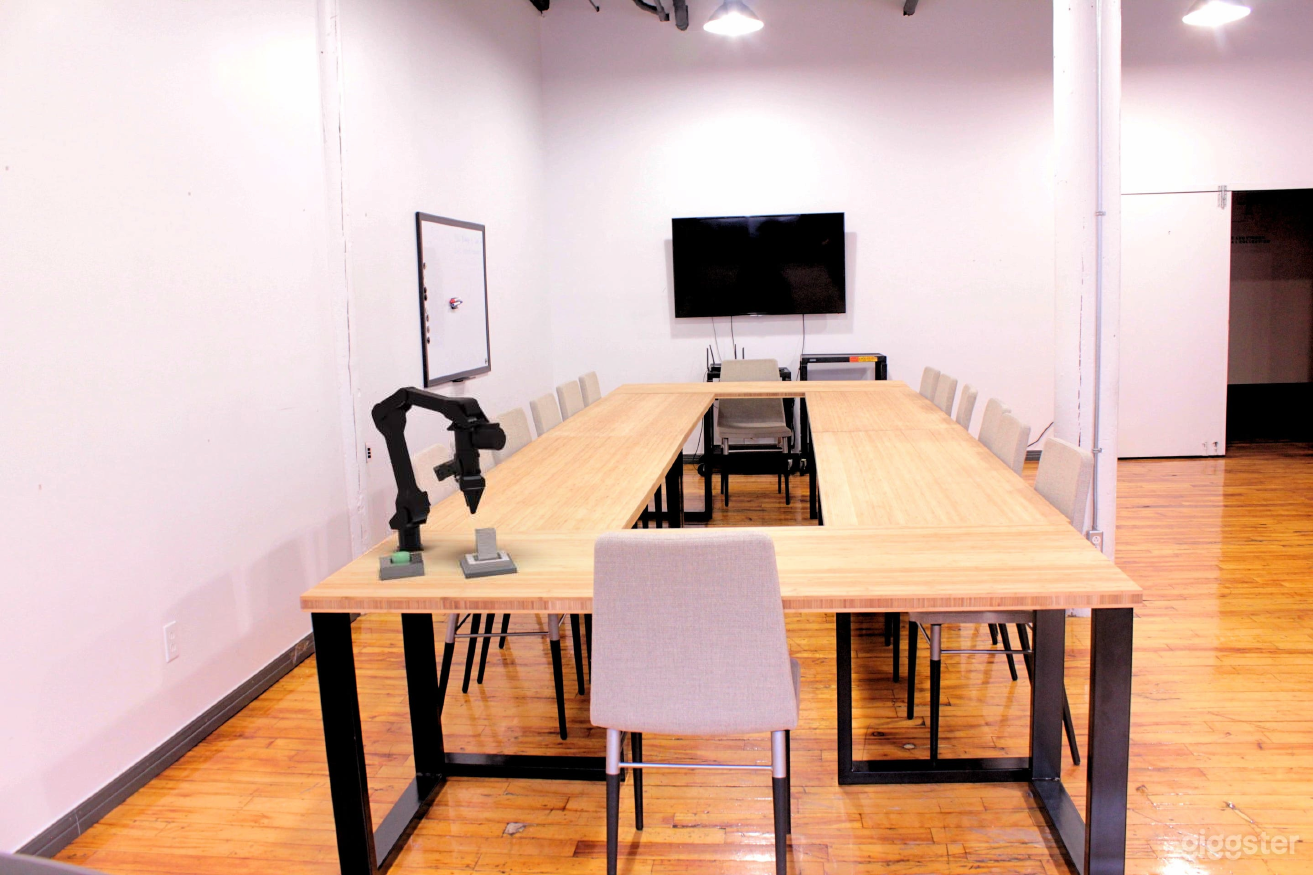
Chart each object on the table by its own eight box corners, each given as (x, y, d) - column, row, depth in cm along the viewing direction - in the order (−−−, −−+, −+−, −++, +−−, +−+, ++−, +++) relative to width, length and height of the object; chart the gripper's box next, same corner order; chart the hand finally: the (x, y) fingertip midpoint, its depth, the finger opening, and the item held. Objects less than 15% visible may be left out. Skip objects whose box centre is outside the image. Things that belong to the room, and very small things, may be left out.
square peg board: (380, 569, 242) (379, 557, 241) (421, 564, 244) (421, 552, 244) (380, 579, 232) (379, 567, 232) (424, 575, 235) (423, 562, 234)
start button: (392, 568, 239) (391, 552, 239) (409, 566, 241) (408, 550, 240) (393, 572, 236) (392, 556, 235) (410, 571, 237) (409, 554, 236)
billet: (477, 561, 240) (474, 529, 239) (495, 559, 242) (493, 527, 240) (479, 565, 236) (476, 533, 235) (497, 563, 237) (495, 531, 236)
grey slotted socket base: (460, 563, 244) (459, 552, 244) (508, 557, 247) (507, 547, 247) (465, 578, 231) (464, 567, 230) (517, 572, 234) (516, 561, 234)
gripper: (431, 446, 252) (435, 505, 255) (436, 457, 235) (441, 521, 237) (475, 442, 255) (479, 501, 258) (483, 453, 238) (488, 516, 240)
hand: (471, 510), depth 248 cm, fingers open, 9 cm apart
